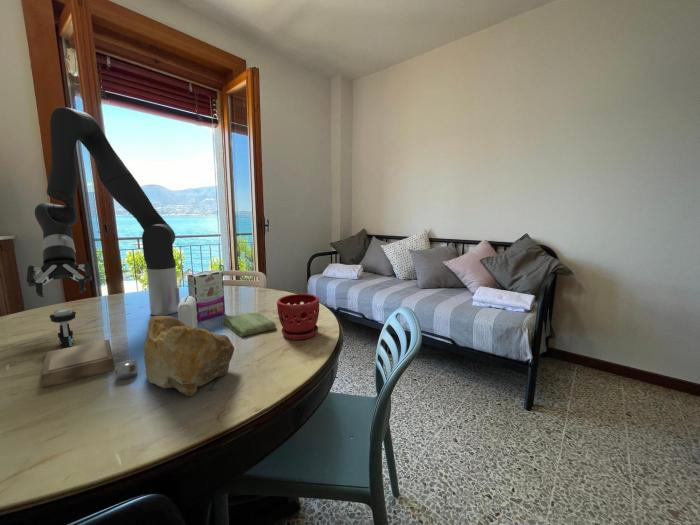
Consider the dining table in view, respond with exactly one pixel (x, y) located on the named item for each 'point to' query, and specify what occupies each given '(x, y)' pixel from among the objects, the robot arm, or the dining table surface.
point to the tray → (77, 362)
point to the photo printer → (188, 311)
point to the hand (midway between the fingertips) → (62, 293)
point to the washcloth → (249, 323)
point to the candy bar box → (207, 293)
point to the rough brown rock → (184, 355)
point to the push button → (64, 326)
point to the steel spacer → (126, 369)
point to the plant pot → (298, 315)
